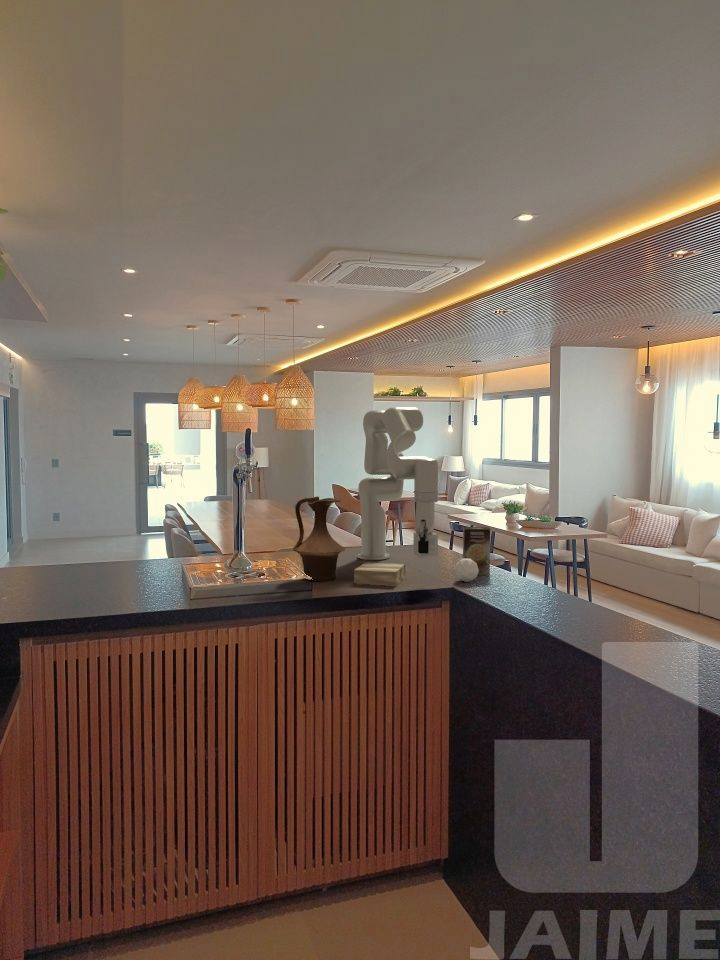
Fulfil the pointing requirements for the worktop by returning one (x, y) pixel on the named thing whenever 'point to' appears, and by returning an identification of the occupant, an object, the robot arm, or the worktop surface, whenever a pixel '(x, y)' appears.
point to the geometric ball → (466, 570)
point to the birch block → (379, 574)
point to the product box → (432, 545)
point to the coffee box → (477, 547)
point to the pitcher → (318, 542)
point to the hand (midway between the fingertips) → (425, 550)
